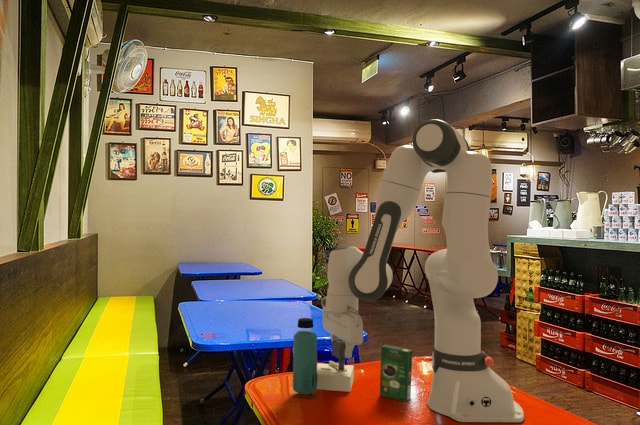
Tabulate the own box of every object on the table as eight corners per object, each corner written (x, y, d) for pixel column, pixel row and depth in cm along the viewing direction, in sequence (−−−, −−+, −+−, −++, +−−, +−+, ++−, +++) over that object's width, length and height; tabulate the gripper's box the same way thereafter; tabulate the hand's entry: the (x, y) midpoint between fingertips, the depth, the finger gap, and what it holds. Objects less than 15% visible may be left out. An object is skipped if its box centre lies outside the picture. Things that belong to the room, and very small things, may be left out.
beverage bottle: (314, 401, 120) (315, 321, 121) (288, 398, 122) (290, 320, 122) (319, 392, 127) (320, 316, 127) (295, 389, 128) (296, 315, 129)
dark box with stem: (351, 370, 132) (352, 341, 132) (339, 372, 130) (340, 343, 130) (336, 362, 139) (336, 335, 139) (324, 364, 137) (324, 337, 137)
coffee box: (412, 399, 123) (413, 348, 123) (408, 403, 120) (408, 351, 120) (383, 393, 127) (384, 343, 127) (379, 396, 125) (380, 346, 125)
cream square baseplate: (353, 378, 138) (354, 363, 138) (350, 391, 127) (350, 376, 128) (313, 375, 140) (313, 361, 140) (306, 388, 129) (306, 372, 129)
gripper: (369, 310, 125) (368, 362, 124) (338, 297, 144) (337, 343, 144) (347, 311, 122) (346, 365, 122) (319, 298, 141) (318, 345, 141)
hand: (341, 353), depth 133 cm, fingers open, 7 cm apart
